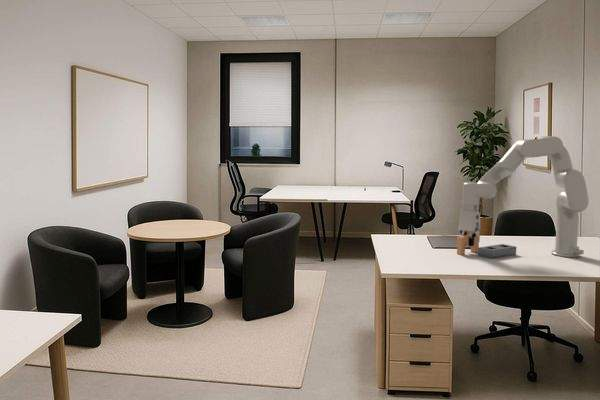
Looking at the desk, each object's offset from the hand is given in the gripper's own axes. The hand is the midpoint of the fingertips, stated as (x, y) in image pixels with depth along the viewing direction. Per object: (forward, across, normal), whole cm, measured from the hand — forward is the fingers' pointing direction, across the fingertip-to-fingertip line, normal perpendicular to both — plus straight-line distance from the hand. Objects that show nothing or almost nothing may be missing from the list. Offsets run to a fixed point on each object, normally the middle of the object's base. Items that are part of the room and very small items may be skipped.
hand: (468, 244), depth 275 cm
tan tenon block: (+4, 0, 0) cm, 4 cm away
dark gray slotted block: (+4, -11, -8) cm, 14 cm away
